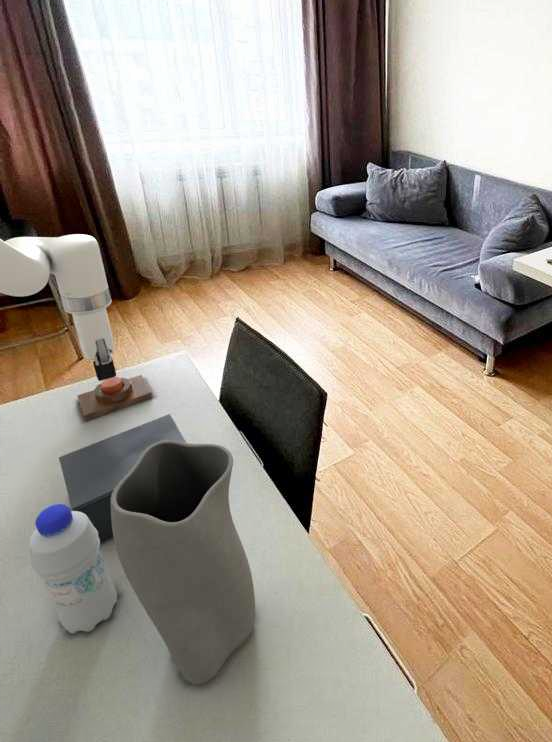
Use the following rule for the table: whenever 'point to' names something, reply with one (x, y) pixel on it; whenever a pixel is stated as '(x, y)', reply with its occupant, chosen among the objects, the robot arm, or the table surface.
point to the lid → (111, 460)
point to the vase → (185, 553)
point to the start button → (112, 385)
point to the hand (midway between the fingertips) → (106, 376)
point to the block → (114, 398)
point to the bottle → (72, 567)
